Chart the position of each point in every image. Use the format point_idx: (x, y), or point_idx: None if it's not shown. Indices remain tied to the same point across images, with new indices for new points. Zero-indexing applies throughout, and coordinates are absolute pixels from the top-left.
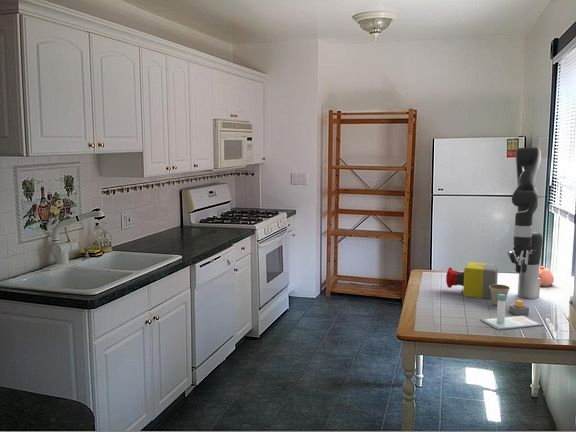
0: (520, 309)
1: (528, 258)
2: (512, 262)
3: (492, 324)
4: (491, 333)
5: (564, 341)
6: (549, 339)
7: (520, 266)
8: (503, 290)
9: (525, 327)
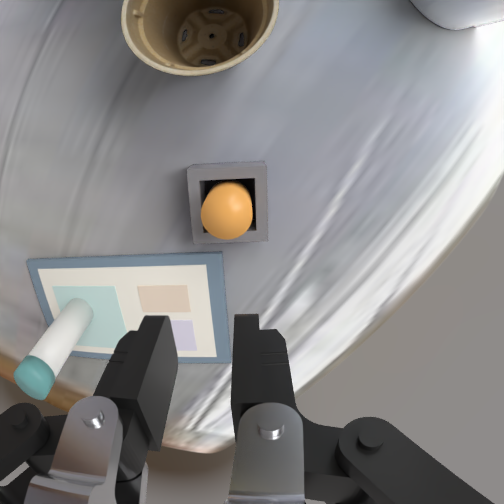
0: (212, 241)
1: (404, 488)
2: (18, 420)
3: (51, 318)
4: None
5: (210, 443)
6: (179, 430)
7: (155, 434)
8: (187, 70)
9: None
